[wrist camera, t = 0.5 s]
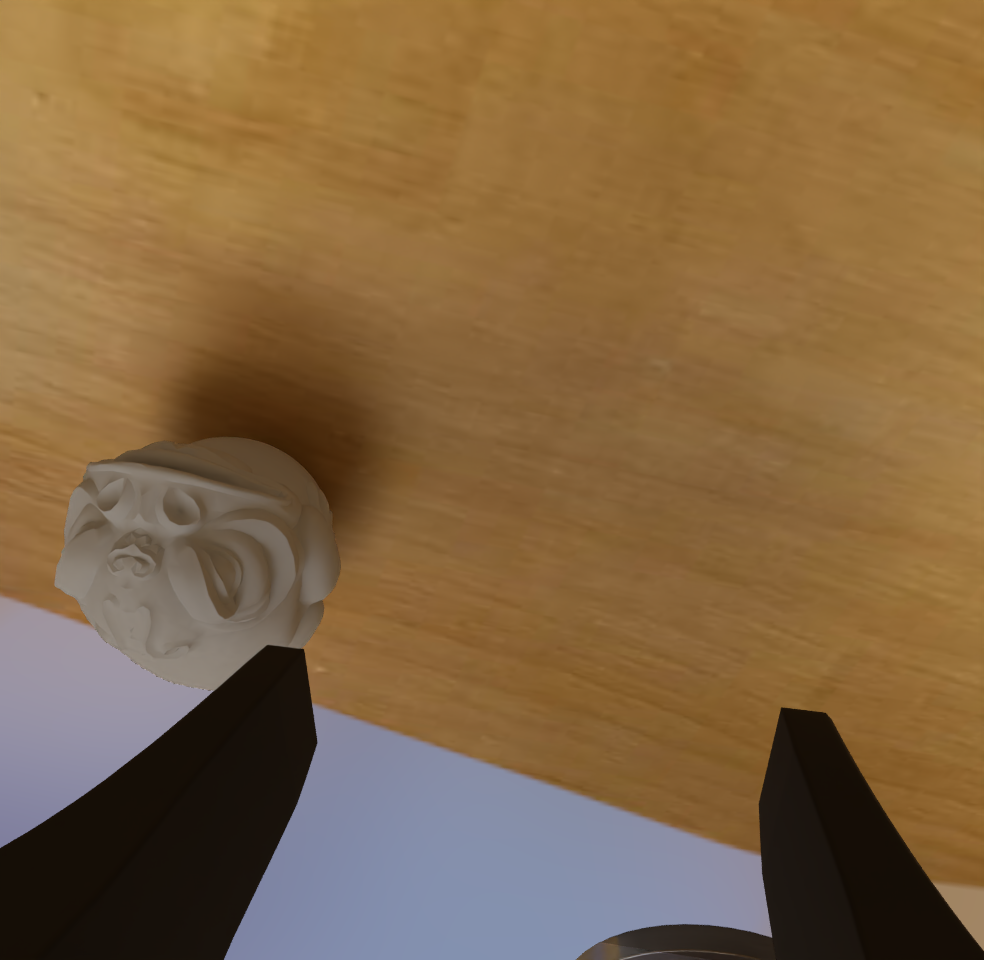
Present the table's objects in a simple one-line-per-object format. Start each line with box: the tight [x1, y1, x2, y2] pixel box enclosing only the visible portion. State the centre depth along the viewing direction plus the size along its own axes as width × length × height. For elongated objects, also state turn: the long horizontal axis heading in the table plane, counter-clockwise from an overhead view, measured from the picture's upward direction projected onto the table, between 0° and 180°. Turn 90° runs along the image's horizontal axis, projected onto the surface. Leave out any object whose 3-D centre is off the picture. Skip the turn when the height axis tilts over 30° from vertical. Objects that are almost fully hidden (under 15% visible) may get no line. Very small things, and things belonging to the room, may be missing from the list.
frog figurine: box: [55, 437, 341, 691], centre depth 20 cm, size 6×7×7 cm
